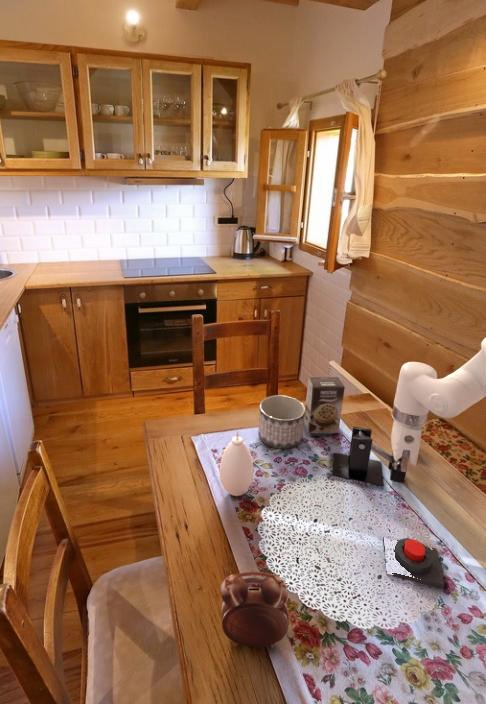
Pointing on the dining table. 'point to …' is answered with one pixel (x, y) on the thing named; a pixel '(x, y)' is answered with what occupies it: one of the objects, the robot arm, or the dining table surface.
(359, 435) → the switch lever
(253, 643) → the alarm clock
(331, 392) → the cookie box
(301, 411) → the planter
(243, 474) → the pale pink tall ovoid
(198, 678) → the dining table surface
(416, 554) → the red button
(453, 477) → the dining table surface
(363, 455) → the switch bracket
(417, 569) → the button box
